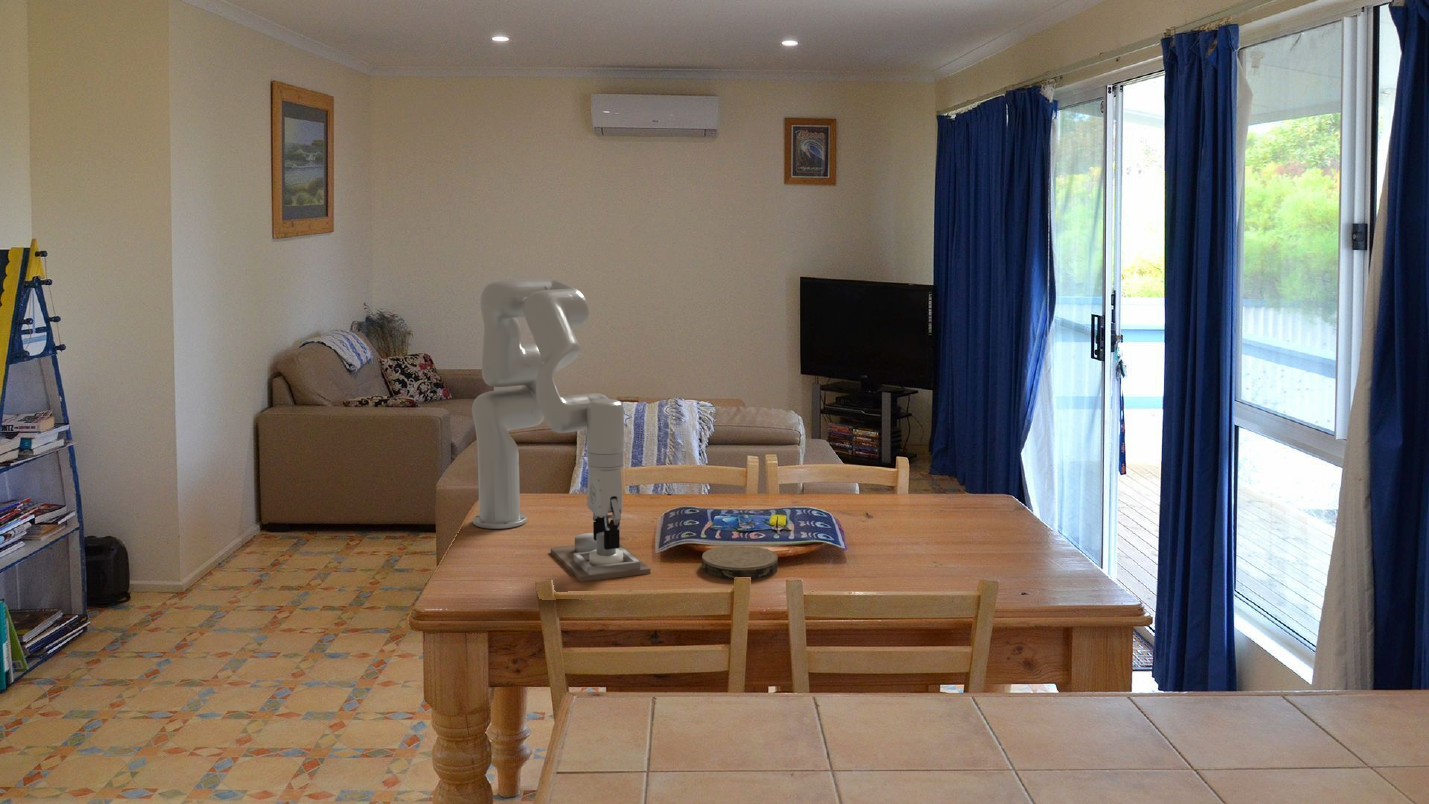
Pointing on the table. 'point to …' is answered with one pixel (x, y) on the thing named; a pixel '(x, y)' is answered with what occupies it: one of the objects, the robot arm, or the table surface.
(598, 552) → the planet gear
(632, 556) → the carrier board
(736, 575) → the grey brown round disc
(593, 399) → the robot arm
